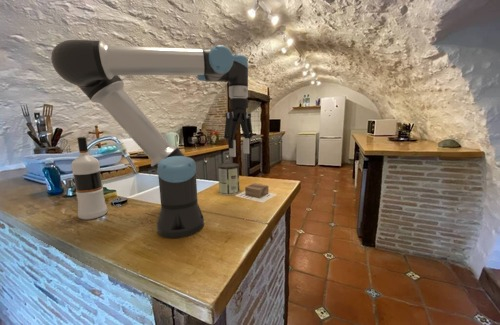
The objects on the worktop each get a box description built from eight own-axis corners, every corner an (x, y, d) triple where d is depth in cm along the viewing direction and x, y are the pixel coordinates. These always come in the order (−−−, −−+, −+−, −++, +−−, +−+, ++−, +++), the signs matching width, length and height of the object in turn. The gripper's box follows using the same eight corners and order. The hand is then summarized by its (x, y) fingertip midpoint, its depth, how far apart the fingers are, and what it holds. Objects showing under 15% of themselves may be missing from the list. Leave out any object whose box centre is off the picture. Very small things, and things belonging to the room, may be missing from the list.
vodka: (73, 222, 78) (59, 138, 73) (84, 211, 87) (72, 136, 81) (103, 218, 81) (91, 137, 75) (111, 209, 90) (100, 135, 84)
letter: (263, 203, 95) (262, 202, 94) (234, 196, 104) (234, 195, 103) (277, 194, 105) (277, 194, 105) (249, 189, 114) (249, 188, 114)
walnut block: (259, 198, 100) (259, 190, 99) (245, 195, 104) (245, 187, 103) (268, 193, 106) (268, 185, 105) (254, 190, 110) (254, 183, 110)
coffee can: (227, 187, 117) (226, 162, 114) (243, 191, 111) (243, 163, 109) (214, 193, 108) (213, 165, 105) (231, 197, 103) (230, 167, 100)
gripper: (228, 95, 75) (230, 159, 80) (261, 99, 93) (261, 152, 97) (212, 96, 80) (215, 157, 84) (246, 100, 97) (247, 151, 101)
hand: (239, 154), depth 91 cm, fingers open, 9 cm apart
